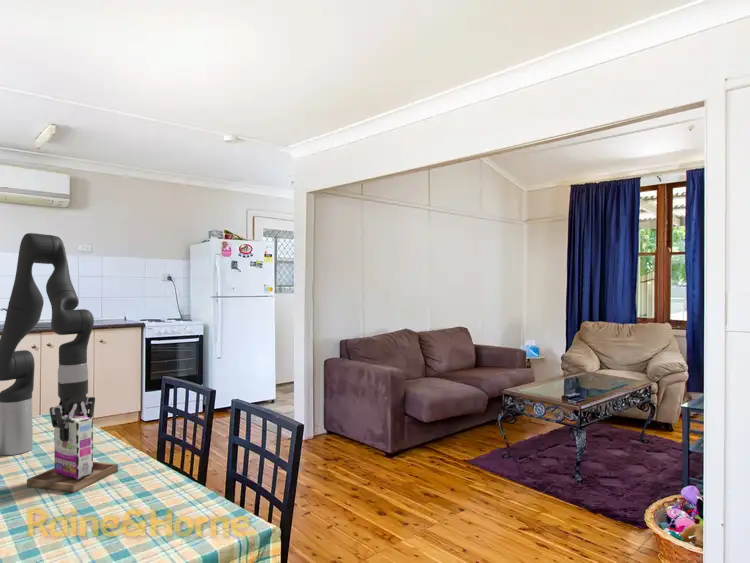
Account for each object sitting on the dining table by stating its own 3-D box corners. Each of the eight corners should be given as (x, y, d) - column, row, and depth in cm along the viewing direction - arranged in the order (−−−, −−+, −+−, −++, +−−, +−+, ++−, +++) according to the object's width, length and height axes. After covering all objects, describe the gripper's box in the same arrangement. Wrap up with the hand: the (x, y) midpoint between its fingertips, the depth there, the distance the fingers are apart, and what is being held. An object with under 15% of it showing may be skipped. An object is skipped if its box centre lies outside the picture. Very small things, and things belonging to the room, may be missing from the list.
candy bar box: (94, 474, 149) (94, 417, 149) (77, 480, 144) (76, 422, 144) (70, 467, 154) (70, 412, 154) (53, 473, 150) (53, 416, 149)
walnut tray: (26, 486, 144) (26, 479, 144) (74, 466, 159) (74, 459, 159) (73, 492, 139) (73, 485, 139) (117, 471, 155) (117, 464, 155)
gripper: (82, 373, 157) (83, 429, 157) (40, 383, 143) (41, 444, 143) (103, 375, 155) (103, 431, 155) (62, 385, 141) (63, 447, 141)
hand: (73, 437), depth 149 cm, fingers closed on candy bar box, 5 cm apart
